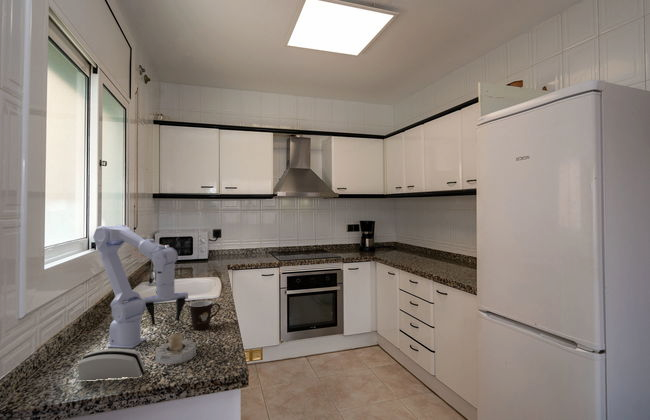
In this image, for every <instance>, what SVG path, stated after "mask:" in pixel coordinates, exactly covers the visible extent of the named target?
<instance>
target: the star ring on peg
mask: <svg viewBox="0 0 650 420" xmlns="http://www.w3.org/2000/svg"><path fill="white" fill-rule="evenodd" d="M196 356H197V344H196V341H192V340H190V339H189V340H186V339H183V349H181V350H179V351H169V342H167V343H163V344H161V345H160V346H158V347H157V348H156V349H155V363H156V362H158V363H160V364H175V365H178V364H177V363H181V364H183V363H182V362H184V363H186V362H188V360H189V361H191V360H192V359H193V358H194V357H196ZM190 359H191V360H190ZM185 361H186V362H185ZM158 363H157V364H158ZM160 364H159V365H160Z"/></svg>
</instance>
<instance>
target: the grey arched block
mask: <svg viewBox="0 0 650 420" xmlns="http://www.w3.org/2000/svg"><path fill="white" fill-rule="evenodd" d="M141 356H142V355H141V354H140V352H139V351H137V350H132V349H130V348H104V349H98V350H93V351H91V352H89V353H86V354H85V355H83V357H82V358H81V359H80V360H79V362H78V364H77V368H78V369H77V371H78V380H96V379H108V378H122V377H139V376H141V375H143V373H145V372H146V371H145V369H148V368H147V365H146V364H145V365H144V362H143V360H142V359H143V358H142V357H141Z"/></svg>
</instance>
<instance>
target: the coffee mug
mask: <svg viewBox="0 0 650 420" xmlns="http://www.w3.org/2000/svg"><path fill="white" fill-rule="evenodd" d="M214 306H217V307H218V308H217V310H216V312H215V313H213V314H212V308H213V307H214ZM189 309H190V310H189V311H190V317H191V325H192V330H193V331H197V332H198V331H200V332H202V331H205V330H208V329H209V328H210V324H211V319H212V318H213V317H215V316H216V315H217V314H218V313H219V311H220V309H221V306H220V304H219V303H216V302H215V303H213V302H212V300H197V301H193V302H191V303H189Z"/></svg>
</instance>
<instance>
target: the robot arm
mask: <svg viewBox="0 0 650 420" xmlns="http://www.w3.org/2000/svg"><path fill="white" fill-rule="evenodd" d="M92 237H93V241H94V243H95V246H96V248H97V251H98V254H99V258H100V260H101V262H102V265H103V267H104V271H105V274H106V276H107V278H108V280H109V283H110V287H111V289H112V291H113V294H114V298H113V300H112V301H111V302H110V304H109V305H110V309H111V316H112V318H113V320H112V322H111V323H110V326H109V329H108V330H109V332H108V333H109V339H108V340H109V344H108V345H107V347H108V348H118V349H133V348H134V347H136V346H138V345H140V344H142V343H143V342H144V341H146V340H147V337H142V334H141V333H142V330H141V328H142V327H141V325H142V324H141V323H142V321H141V318H142V317H143V314H144V313H145V312H146V310H147V311H148V313H149V316H150V319H151V325H152V326H154V325H156V319H155V304H157V303H162V302H163V303H164V302H170V301H175V302H176V303H175V304H176V307H175V308H176V311H175V315H176V316H175V321H177V322H178V321H180V317H181V313H182V310H183V309H184V306H185V304H186V300H187V299H189V293H188V292H187V291H186V292H185V291H184V292H175V263H176V262H177V261H178V259H179V253H178V252H177V250H176V249H175V248H174V247H166V246H165V245H163V244H160V243H158V242H156V240H155V239H154V238H147V239H144V238H143V237H141V236H140V235H138V234H137V233H135V232H134V231H133V230H131V228H130V227H129V226H127V225H126V224H118V225H100V226H97V227H96V229H95V230H94V233H93V236H92ZM125 243H127V244H129V245H132V246H133V247H136V248H138V252H139V253H140V254H142V255H143V256H145V257H146V258H147V259H150V260H151V263H152V264H153V265H154V270H155V274H156V275H155V280H156V282H155V284H156V286H155V287H156V288H155V290H156V291H155V292H156V294H155V295H151V296H147V297H141V295H140V293H138V292H137V291H134V290H133V289H132V287H131V285H130V282H129V280H128V277H127V273H126V272H125V268H124V267H123V263H122V262H121V258H120V256H119V253H118V251H119V249H121V248H122V247H123V246H124V244H125Z"/></svg>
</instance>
